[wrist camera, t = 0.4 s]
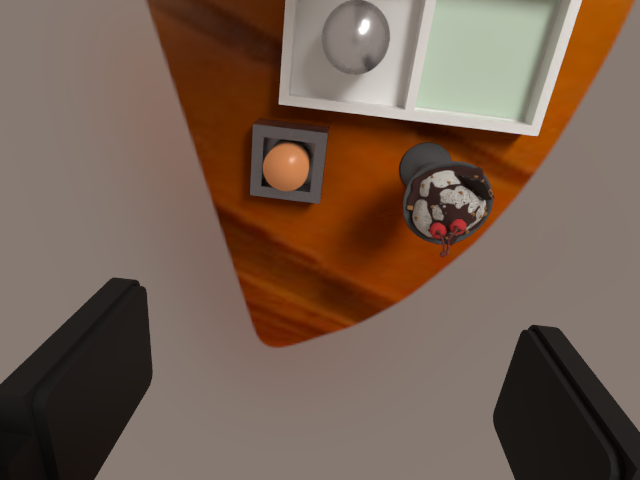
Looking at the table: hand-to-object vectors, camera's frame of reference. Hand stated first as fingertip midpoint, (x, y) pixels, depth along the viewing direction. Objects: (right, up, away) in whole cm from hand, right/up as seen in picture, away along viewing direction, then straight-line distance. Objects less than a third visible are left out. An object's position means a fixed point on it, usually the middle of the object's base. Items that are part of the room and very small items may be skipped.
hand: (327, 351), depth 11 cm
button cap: (-3, +10, +29) cm, 31 cm away
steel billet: (+3, +20, +25) cm, 32 cm away
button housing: (-3, +11, +31) cm, 33 cm away
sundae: (+10, +10, +31) cm, 34 cm away
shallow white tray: (+8, +19, +26) cm, 34 cm away
